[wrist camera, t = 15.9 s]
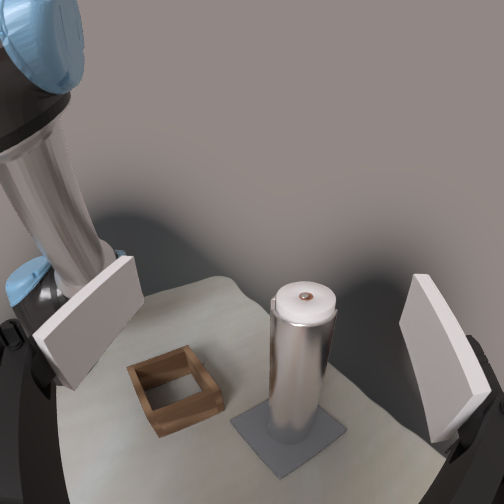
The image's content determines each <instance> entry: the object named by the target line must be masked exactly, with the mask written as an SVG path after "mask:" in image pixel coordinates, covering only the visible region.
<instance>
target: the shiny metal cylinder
mask: <svg viewBox="0 0 504 504" xmlns="http://www.w3.org/2000/svg"><path fill="white" fill-rule="evenodd" d="M335 302H336V297H335V295H334V293H333V292H332V291H331V290H330V288H328V287H326V286H324V285H321V284H318V283H314V282H307V281H302V282H294V283H290V284H287V285H285V286H284V287H282V288H280V289H279V291H278V292H277V294H276V295H275V296H274V297H273V298H272V299H271V310H270V376H269V418H268V432H269V435H270V436H271V438H272V439H273V440H275V441H276V442H278V443H281V444H285V445H293V444H297V443H300V442H301V441H303V440H304V439H305V438H306V437H307V436H308V434H309V432H310V429H311V425H312V422H313V418H314V414H315V411H316V407H317V403H318V400H319V396H320V392H321V388H322V384H323V379H324V375H325V371H326V366H327V362H328V357H329V352H330V348H331V343H332V338H333V332H334V327H335V321H336V316H337V309H335Z"/></svg>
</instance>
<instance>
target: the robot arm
mask: <svg viewBox="0 0 504 504" xmlns="http://www.w3.org/2000/svg"><path fill="white" fill-rule="evenodd" d="M83 49H84V37H83V29H82V22H81V16H80V12H79V8H78V4H77V1H76V0H0V184H1V186H2V188H3V189H4V192H5V194H6V195H7V197H8V199H9V201H10V203H11V204H12V206H13V208H14V210H15V211H16V213H17V215H18V217H19V218H20V220H21V221H22V223H23V224H24V226H25V228H26V229H27V231H28V233H29V234H30V236H31V237H32V239H33V240H34V242H35V243H36V245H37V246H38V248H39V249H40V250H41V252H42V253H43V255H44V256H40V257H37V258H34V259H32V260H31V261H28V262H27V263H25V264H23V265H22V266H21V267H19V268H18V269H17V270H15V271H14V272H13V273H12V275H11V276H10V277H9V278H8V280H7V282H6V293H7V295H8V298H9V301H10V305H11V307H12V308H13V310H14V312H15V315H16V317H17V319H9V320H7V321H5V322H3V323H2V324H1V325H0V504H70V502H69V498H68V493H67V489H66V484H65V479H64V474H63V468H62V462H61V455H60V447H59V437H58V426H57V408H56V385H59V386H62V385H64V386H66V387H68V388H70V389H72V390H74V391H75V390H76V388H77V387H78V386H79V384H80V383H81V382H82V380H83V379H84V378H85V376H86V375H87V374H88V372H89V371H90V370H91V368H92V367H93V366H94V364H95V363H96V362H97V361H98V359H99V358H100V357H101V355H102V354H103V353H104V352H105V350H106V349H107V348H108V347H109V345H110V344H111V343H112V342H113V340H114V339H115V338H116V337H117V335H118V334H119V333H120V332H121V330H122V329H123V328H124V327H125V325H126V324H127V323H128V322H129V321H130V319H131V318H132V317H133V316H134V315H135V313H136V312H137V311H138V310H139V309H140V307H141V306H142V305H143V304H144V303H145V301H144V297H143V294H142V290H141V286H140V282H139V278H138V274H137V270H136V265H135V261H134V257H133V256H126V254H125V252H124V251H121V250H119V251H118V250H115V251H113V250H112V248H111V247H110V246H109V244H107V243H106V242H105V241H103V240H101V239H98V236H97V234H96V232H95V229H94V226H93V224H92V222H91V219H90V216H89V214H88V211H87V208H86V206H85V203H84V200H83V197H82V194H81V191H80V189H79V186H78V183H77V180H76V176H75V173H74V170H73V167H72V163H71V160H70V156H69V153H68V149H67V146H66V142H65V138H64V135H63V130H62V126H61V122H60V119H61V118H62V116H63V114H64V113H65V111H66V110H67V108H68V107H69V105H70V102H71V95H70V91H71V90H72V89H73V88H75V87H76V86H77V85H78V84H79V83H80V81H81V79H82V76H83V72H84V53H83ZM399 325H400V327H401V330H402V333H403V336H404V339H405V342H406V345H407V348H408V351H409V355H410V358H411V361H412V365H413V368H414V371H415V375H416V378H417V382H418V386H419V390H420V393H421V397H422V401H423V406H424V409H425V414H426V419H427V423H428V428H429V433H430V439H431V443H434V442H439V441H443V440H448V439H450V438H451V437H452V436H453V435H454V434H455V433H456V432H457V431H458V433H459V439H457V440H456V441H455V442H454V443H453V444H452V445H451V446H450V447H449V448H448V449H447V450H446V451H445V453H446V454H447V453H448V452H449V451H450V450H451V452H450V454H449V456H448V457H447V459H446V461H445V463H444V465H443V466H442V468H441V470H440V472H439V473H438V475H437V477H436V478H435V480H434V481H433V483H432V485H431V486H430V488H429V489H428V491H427V492H426V494H425V495H424V497H423V498H422V500H421V501H420V502H419V504H504V393H503V391H502V389H501V387H500V385H499V382H498V380H497V378H496V376H495V374H494V372H493V369H492V367H491V365H490V363H488V359H487V357H486V355H484V352H483V350H482V348H481V346H480V344H479V343H478V342H477V341H476V340H475V339H474V338H473V337H472V336H471V335H465V334H464V332H463V331H462V329H461V327H460V325H459V323H458V322H457V320H456V318H455V316H454V315H453V313H452V311H451V310H450V308H449V306H448V305H447V303H446V301H445V300H444V298H443V296H442V295H441V293H440V292H439V290H438V289H437V287H436V286H435V284H434V283H433V281H432V279H431V278H430V277H429V275H428V274H414V275H413V279H412V283H411V286H410V290H409V293H408V297H407V300H406V303H405V307H404V310H403V313H402V316H401V320H400V322H399Z"/></svg>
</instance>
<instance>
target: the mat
mask: <svg viewBox="0 0 504 504" xmlns="http://www.w3.org/2000/svg"><path fill="white" fill-rule="evenodd" d="M268 418H269V399H268V400H266V401H265V402H263V403H261V404H259V405H257V406H256V407H254V408H252V409H250V410H248V411H246V412H244V413H242V414H240V415H239V416H237V417H235V418H233V419H231V420H230V422H231V423H232V425H233V426H234V427H235V428H236V430H237V431H238V432H239V433H240V435H241V436H242V437H243V438H244V439H245V441H246V442H247V443H248V444H249V445H250V447H251V448H252V449H253V450H254V451H255V452H256V454H257V455H258V456H259V457H260V458H261V459H262V460H263V462H264V463H265V464H266V465H267V466H268V467H269V468H270V469H271V470H272V471H273V472H274V474H275V475H276V476H277V477H278V478H279V479H281V478H283V477H285V476H286V475H288V474H289V473H291V472H292V471H294V470H295V469H297V468H298V467H300V466H301V465H303V464H304V463H306V462H307V461H308V460H310V459H311V458H313V457H314V456H315V455H317V454H318V453H319V452H321V451H322V450H323V449H325V448H326V447H327V446H328V445H330V444H331V443H332V442H333V441H335V440H336V439H337V438H338V437H340V436H341V435H342V434H343V433H344V432H346V430H347V429H346V428H345V427H344V426H342V425H341V424H340V423H339V422H338V421H336V420H335V419H334V418H333V417H332V416H330V415H329V414H328V413H327V412H326V411H324V410H323V409H322V408H321V407H320V406H319V405H317V407H316V411H315V414H314V418H313V422H312V425H311V429H310V432H309V434H308V436H307V437H306V438H305V439H304V440H303V441H301V442H300V443H297V444H293V445H285V444H281V443H278V442H276V441H275V440H273V439H272V438H271V436H270V435H269V432H268Z"/></svg>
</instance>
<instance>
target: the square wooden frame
mask: <svg viewBox="0 0 504 504" xmlns="http://www.w3.org/2000/svg"><path fill="white" fill-rule="evenodd" d="M127 370H128V373H129V375H130V378H131V381H132V383H133V386H134V388H135V391H136V393H137V396H138V398H139V401H140V403H141V405H142V408H143V410H144V412H145V415H146V417H147V419H148V421H149V422H150V424H151V426H152V427H153V429H154V430H155V432H156V433H157V435H158V437H159V438H161V437H164V436H166V435H169V434H171V433H174V432H176V431H179V430H181V429H184V428H186V427H189V426H191V425H193V424H196V423H198V422H200V421H203V420H205V419H207V418H209V417H211V416H214V415H216V414H218V413H220V412H222V411H224V410H225V408H224V403H223V398H222V393H221V389H220V388H219V387H218V385H217V384H216V383H215V381H214V380H213V379H212V377H211V376H210V375H209V373H208V372H207V371H206V369H205V368H204V367H203V365H202V364H201V363H200V361H199V360H198V358H197V357H196V355H195V354H194V353H193V351H192V350H191V348H190V347H189V345H186V346H184V347H181V348H179V349H176V350H173V351H171V352H168V353H165V354H162V355H160V356H157V357H154V358H151V359H149V360H146V361H143V362H140V363H137V364H134V365H131V366H129V367H127ZM190 373H191V374H192V376H193V377H194V379H195V380H196V382H197V383H198V385H199V386H200V388H201V389H202V391H201V392H199V393H197V394H194V395H192V396H190V397H187V398H185V399H182V400H180V401H177V402H175V403H172V404H170V405H167V406H165V407H162V408H159V409H157V410H153V408H152V406H151V404H150V402H149V400H148V397H147V395H146V393H145V390H148V389H151V388H154V387H156V386H159V385H162V384H164V383H167V382H169V381H172V380H175V379H177V378H180V377H182V376H185V375H187V374H190Z"/></svg>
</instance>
